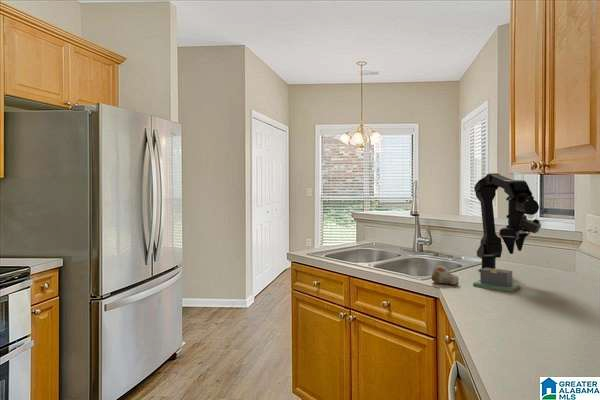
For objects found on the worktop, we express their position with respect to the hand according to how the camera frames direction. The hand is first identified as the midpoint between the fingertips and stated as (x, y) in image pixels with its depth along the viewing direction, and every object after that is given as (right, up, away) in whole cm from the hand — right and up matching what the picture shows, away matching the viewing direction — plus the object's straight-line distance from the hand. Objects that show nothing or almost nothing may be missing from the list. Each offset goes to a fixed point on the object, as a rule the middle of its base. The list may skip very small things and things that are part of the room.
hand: (515, 252), depth 181 cm
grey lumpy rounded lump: (-27, -13, 0) cm, 30 cm away
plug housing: (-10, -11, -6) cm, 16 cm away
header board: (-10, -13, -6) cm, 17 cm away
